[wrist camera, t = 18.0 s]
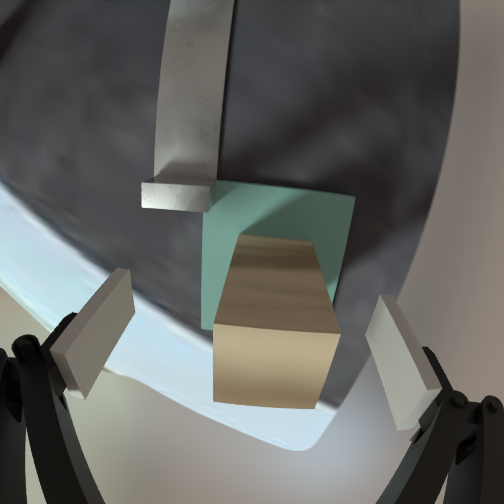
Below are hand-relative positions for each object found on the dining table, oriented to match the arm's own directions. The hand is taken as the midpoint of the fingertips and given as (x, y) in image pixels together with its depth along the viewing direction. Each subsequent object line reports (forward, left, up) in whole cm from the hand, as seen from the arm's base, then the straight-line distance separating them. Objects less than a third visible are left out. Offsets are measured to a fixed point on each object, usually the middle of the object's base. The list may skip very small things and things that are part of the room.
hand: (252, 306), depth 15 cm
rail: (-21, -5, -7) cm, 23 cm away
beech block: (+1, +1, -6) cm, 7 cm away
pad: (+1, +1, -7) cm, 7 cm away
